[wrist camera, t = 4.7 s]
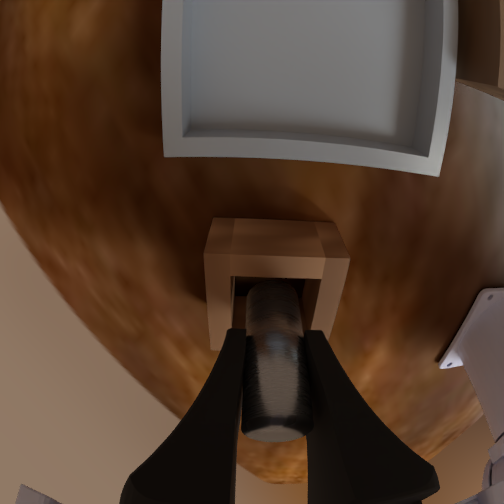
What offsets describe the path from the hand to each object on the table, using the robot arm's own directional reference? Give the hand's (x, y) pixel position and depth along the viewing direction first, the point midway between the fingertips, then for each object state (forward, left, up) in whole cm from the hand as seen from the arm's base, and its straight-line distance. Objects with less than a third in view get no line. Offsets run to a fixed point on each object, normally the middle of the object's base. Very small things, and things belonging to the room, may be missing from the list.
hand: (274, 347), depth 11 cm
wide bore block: (0, 0, -5) cm, 5 cm away
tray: (-1, -11, -5) cm, 13 cm away
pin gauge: (0, 0, -2) cm, 2 cm away
